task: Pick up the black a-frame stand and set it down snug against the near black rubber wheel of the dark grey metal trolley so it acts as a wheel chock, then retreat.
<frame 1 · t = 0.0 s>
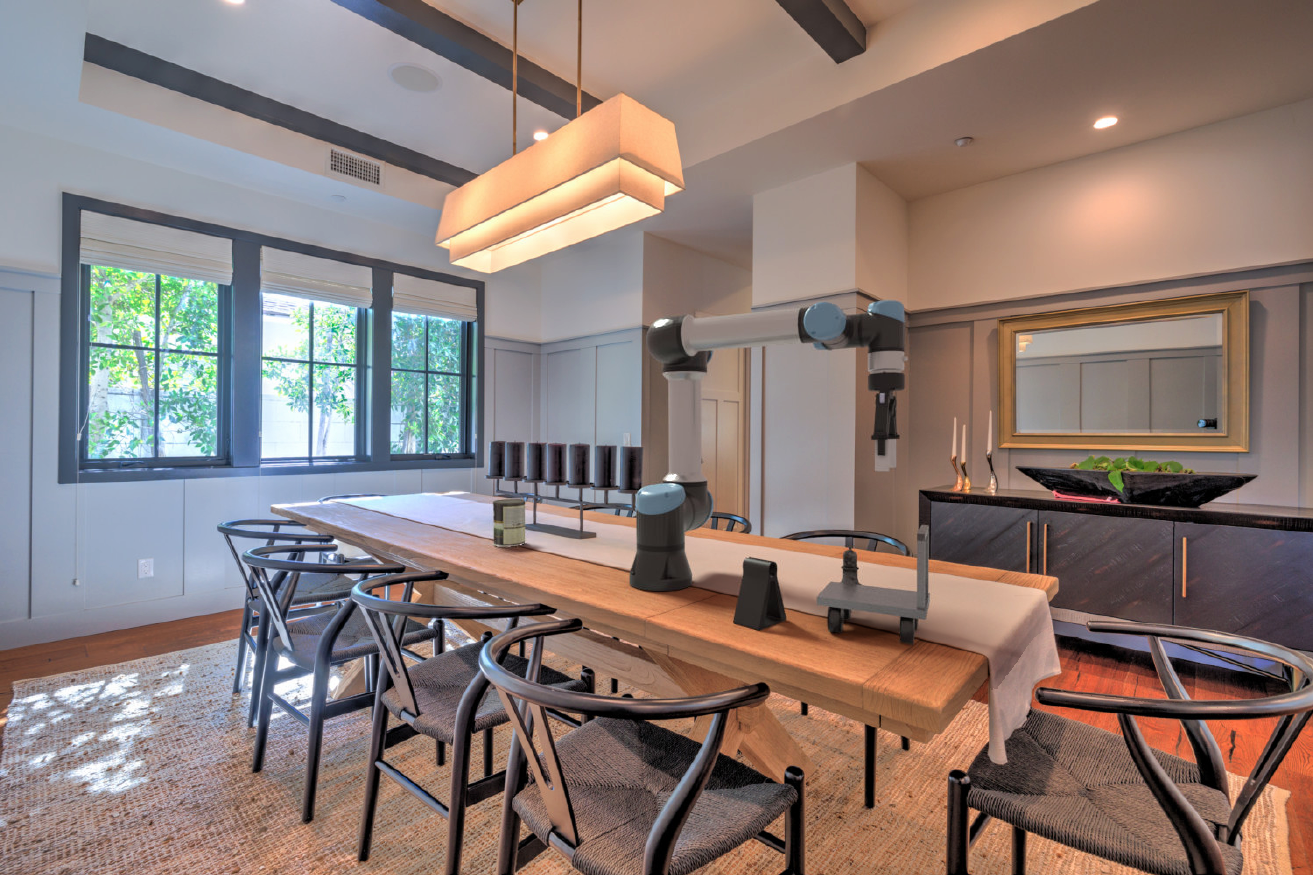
hand: (886, 469, 129), 28 cm above the table, fingers open, 13 cm apart
trolley: (873, 630, 107), on the table
black a-frame stand: (760, 622, 112), on the table
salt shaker: (850, 603, 124), on the table
coffee can: (509, 544, 189), on the table
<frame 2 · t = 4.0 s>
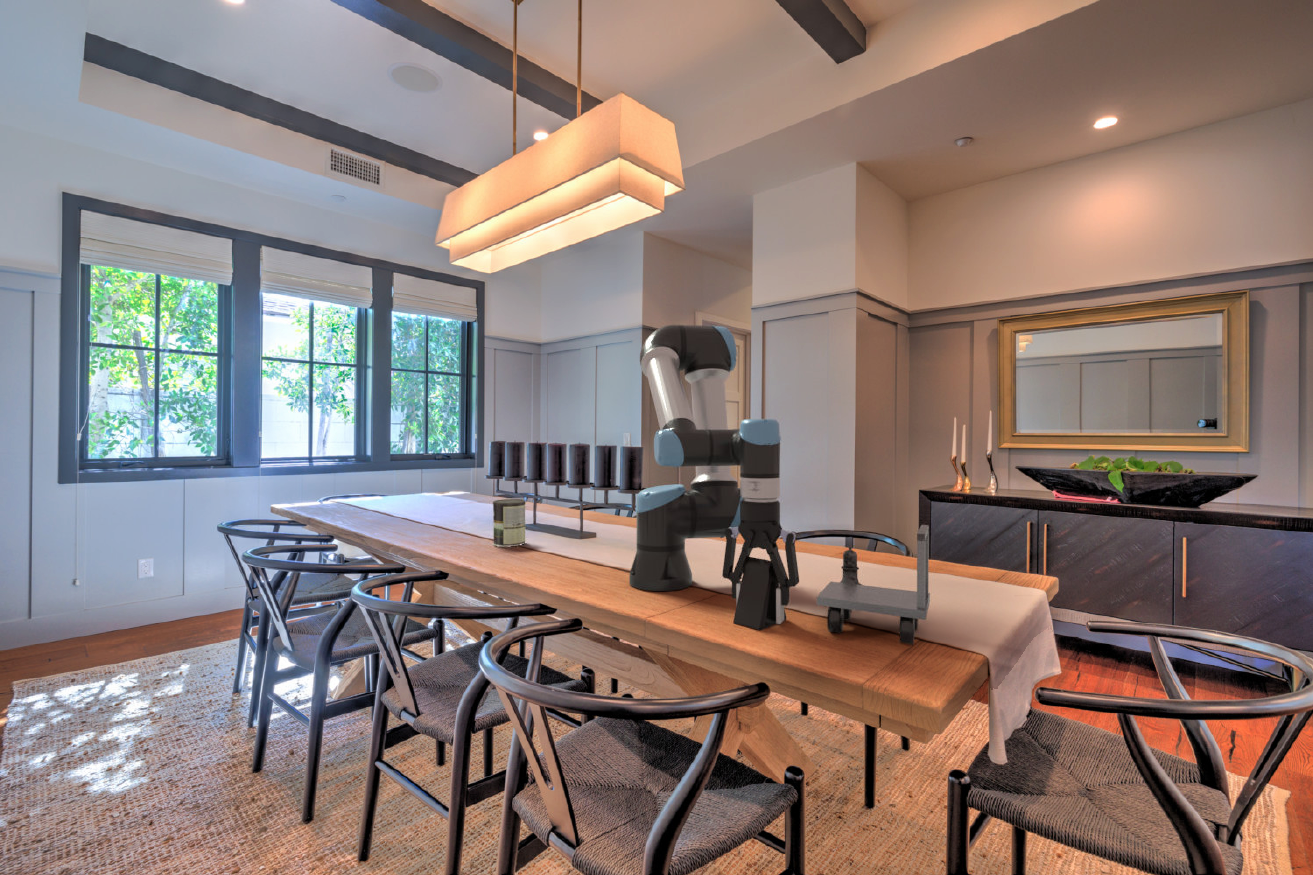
hand: (760, 618, 112), 1 cm above the table, fingers closed on black a-frame stand, 7 cm apart
black a-frame stand: (760, 622, 112), on the table, touching gripper
everything else where it was.
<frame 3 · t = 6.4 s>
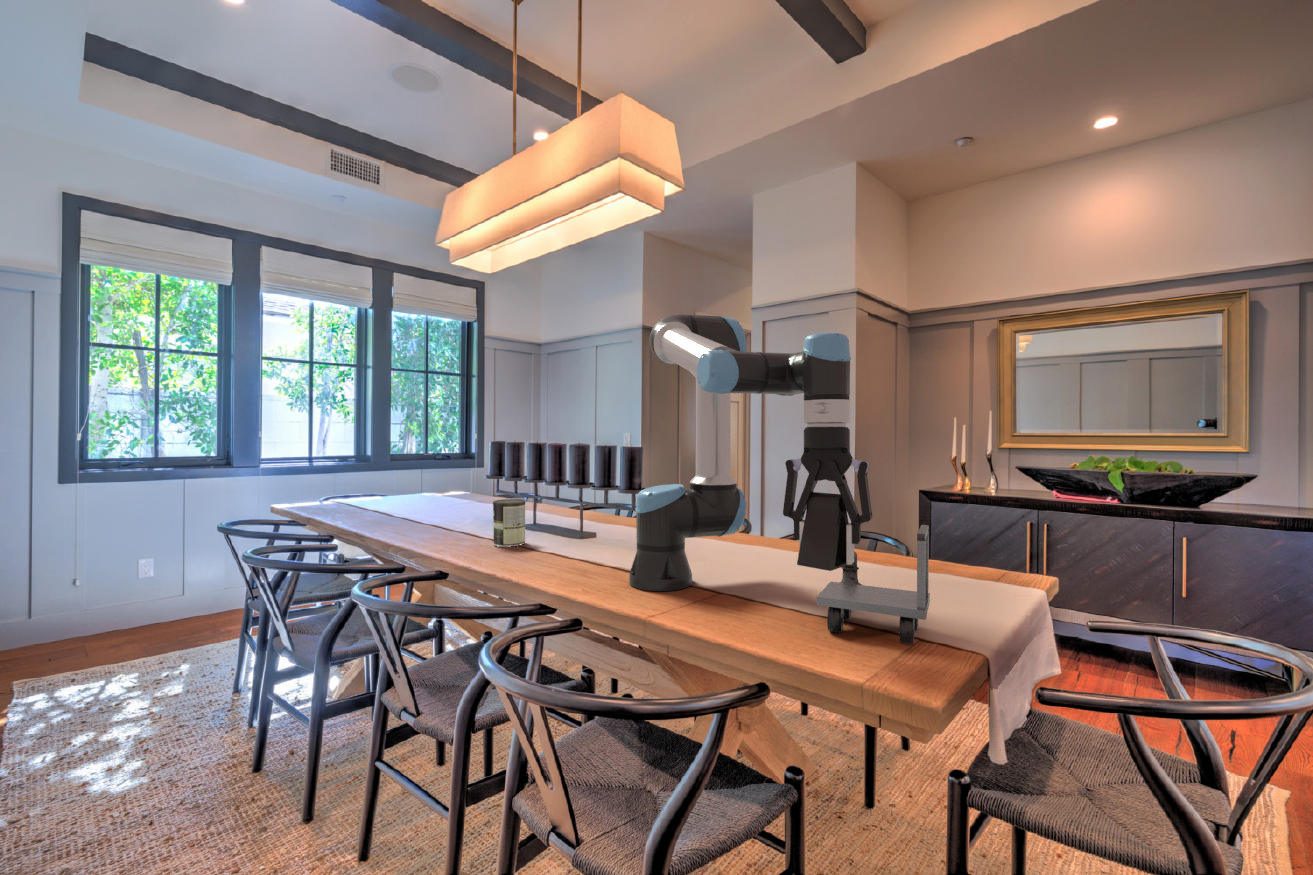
hand: (826, 560, 99), 15 cm above the table, fingers closed on black a-frame stand, 7 cm apart
black a-frame stand: (826, 564, 99), point 14 cm above the table, touching gripper
everything else where it was.
when the fingers open (2 cm above the table, at t = 8.9 s): black a-frame stand drops 1 cm, on the table.
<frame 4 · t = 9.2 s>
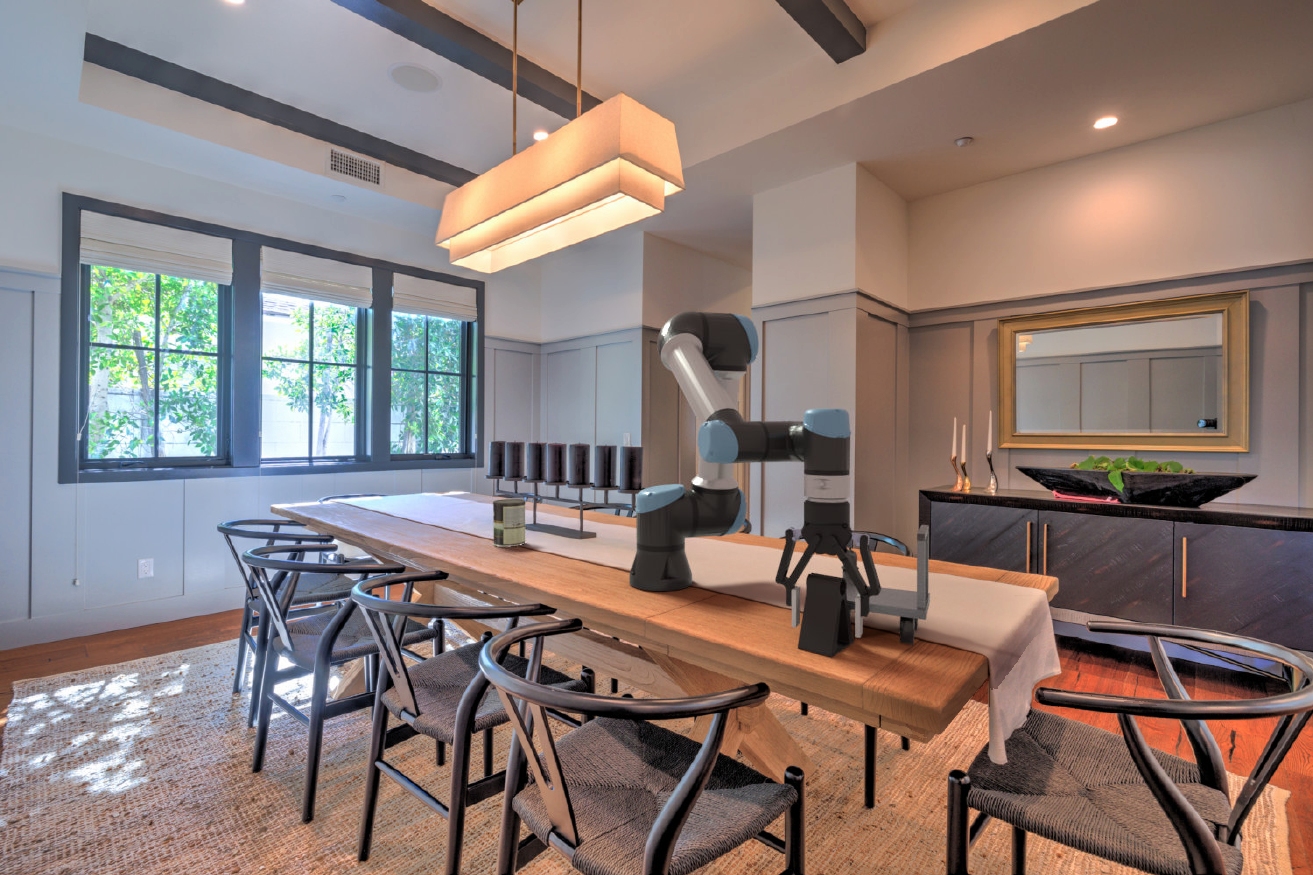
hand: (826, 629, 99), 3 cm above the table, fingers open, 10 cm apart
black a-frame stand: (826, 646, 100), on the table
everything else where it was.
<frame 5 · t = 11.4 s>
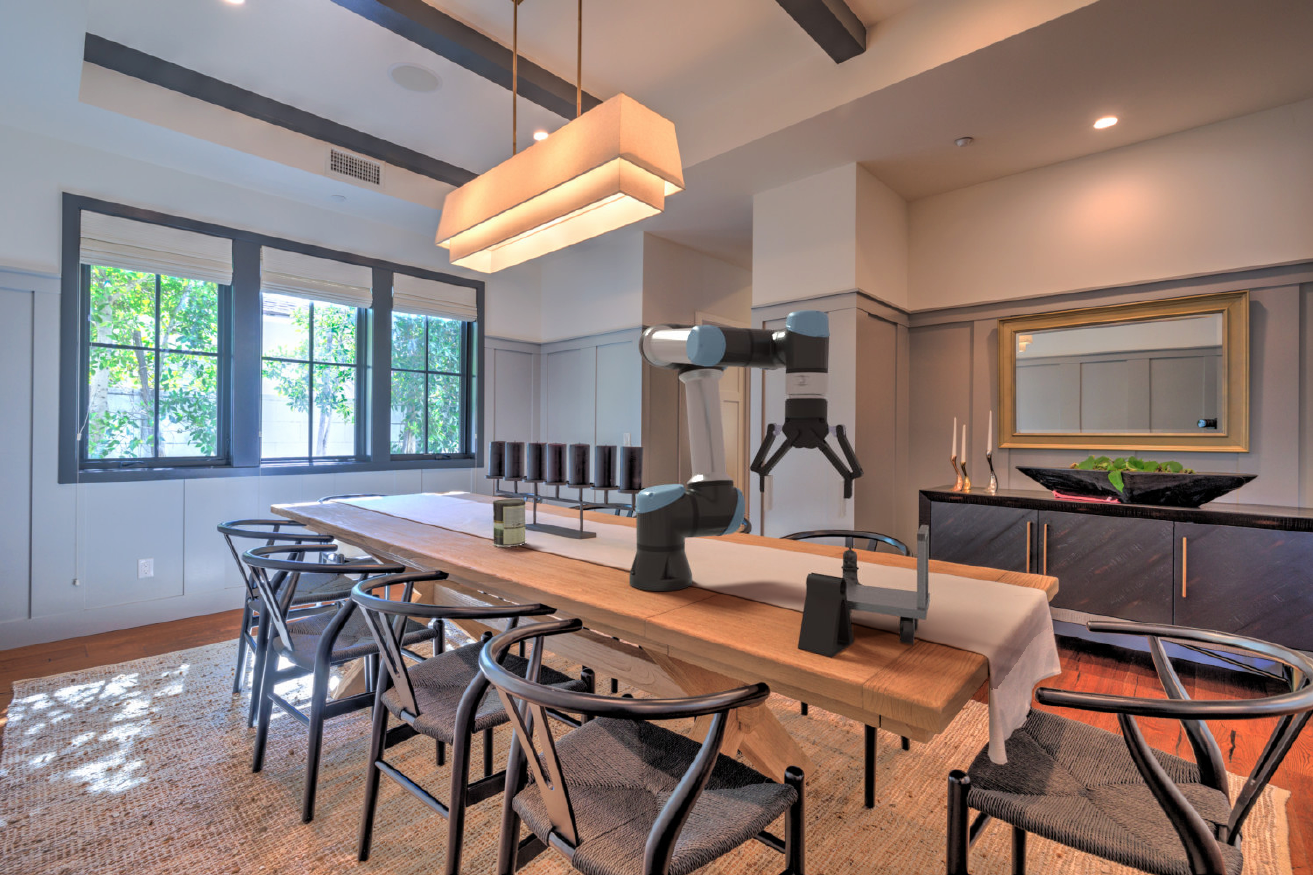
hand: (804, 513, 107), 21 cm above the table, fingers open, 13 cm apart
nothing on the table moved.
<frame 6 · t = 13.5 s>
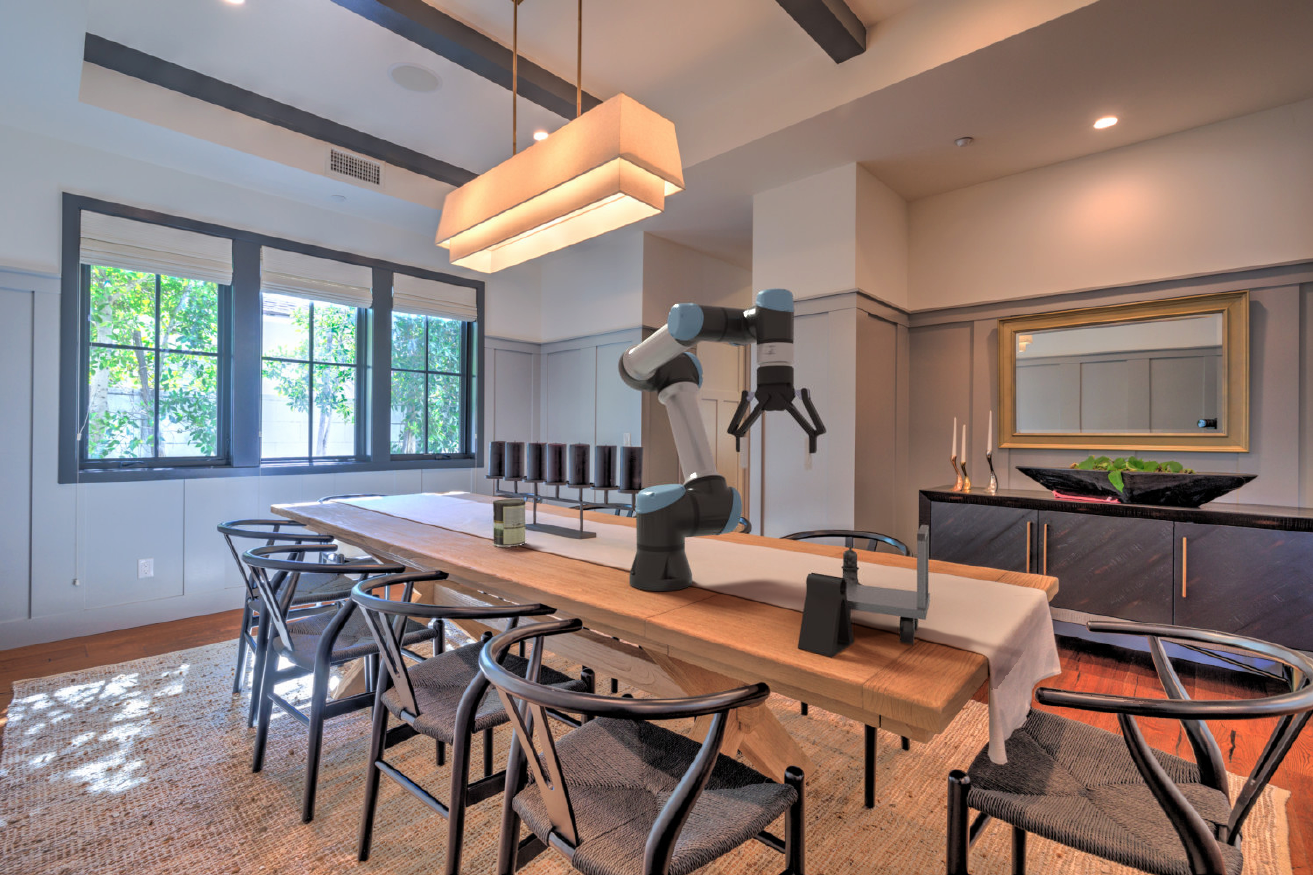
hand: (775, 469, 121), 29 cm above the table, fingers open, 13 cm apart
nothing on the table moved.
at the end: black a-frame stand inside the target area on the table beside the trolley (0.5 cm from its centre), on the table; black a-frame stand tilted 0°; the gripper is holding nothing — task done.
